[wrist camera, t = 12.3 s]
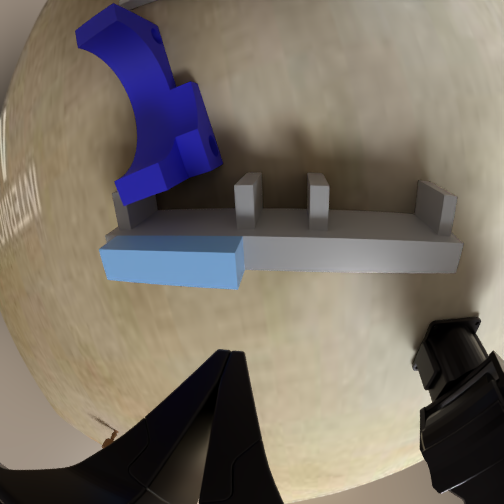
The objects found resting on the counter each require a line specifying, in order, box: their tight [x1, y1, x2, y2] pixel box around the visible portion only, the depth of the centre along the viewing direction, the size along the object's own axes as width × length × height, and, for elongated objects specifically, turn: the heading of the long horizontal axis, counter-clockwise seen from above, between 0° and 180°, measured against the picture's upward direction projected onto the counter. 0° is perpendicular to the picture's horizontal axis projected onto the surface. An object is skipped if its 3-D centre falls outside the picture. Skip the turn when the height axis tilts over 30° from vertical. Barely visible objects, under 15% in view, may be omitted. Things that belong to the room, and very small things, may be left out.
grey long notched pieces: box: [99, 0, 464, 289], centre depth 12 cm, size 22×20×7 cm
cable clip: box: [75, 3, 223, 206], centre depth 14 cm, size 12×4×6 cm, turn 17°
